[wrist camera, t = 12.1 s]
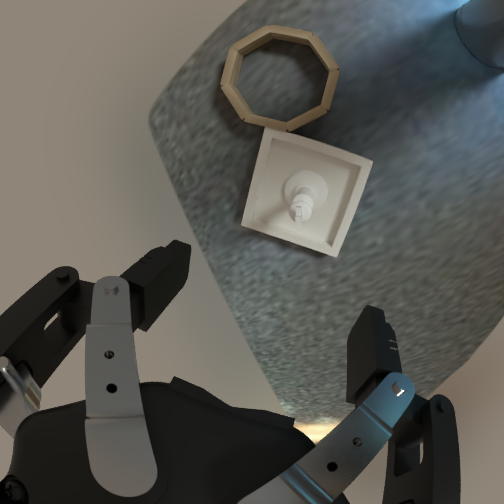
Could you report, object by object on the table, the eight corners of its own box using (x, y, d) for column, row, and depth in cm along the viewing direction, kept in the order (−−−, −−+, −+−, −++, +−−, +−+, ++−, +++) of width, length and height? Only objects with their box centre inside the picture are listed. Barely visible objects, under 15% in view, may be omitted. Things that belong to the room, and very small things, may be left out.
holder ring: (345, 48, 22) (347, 42, 20) (320, 141, 28) (320, 142, 26) (243, 27, 24) (237, 20, 21) (220, 115, 29) (212, 115, 27)
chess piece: (286, 212, 32) (270, 247, 23) (282, 170, 30) (264, 190, 21) (328, 211, 30) (329, 248, 22) (326, 169, 28) (328, 189, 20)
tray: (369, 159, 27) (373, 161, 26) (336, 249, 33) (336, 257, 31) (269, 126, 29) (265, 126, 27) (245, 219, 35) (240, 225, 33)
